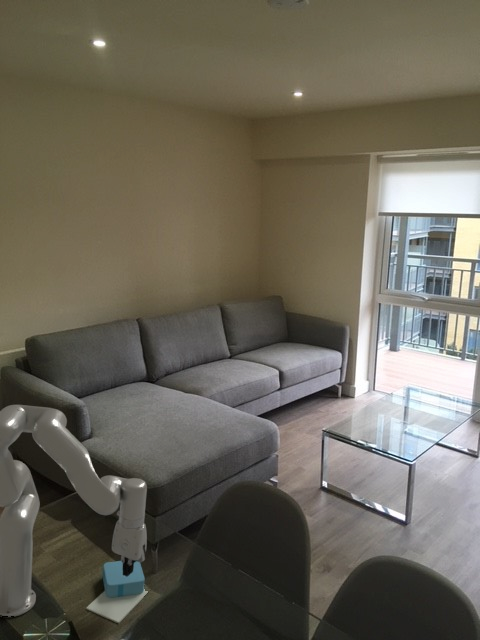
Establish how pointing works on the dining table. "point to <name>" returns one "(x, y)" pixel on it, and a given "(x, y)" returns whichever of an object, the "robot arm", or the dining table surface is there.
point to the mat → (115, 606)
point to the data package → (122, 580)
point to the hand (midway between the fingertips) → (127, 573)
